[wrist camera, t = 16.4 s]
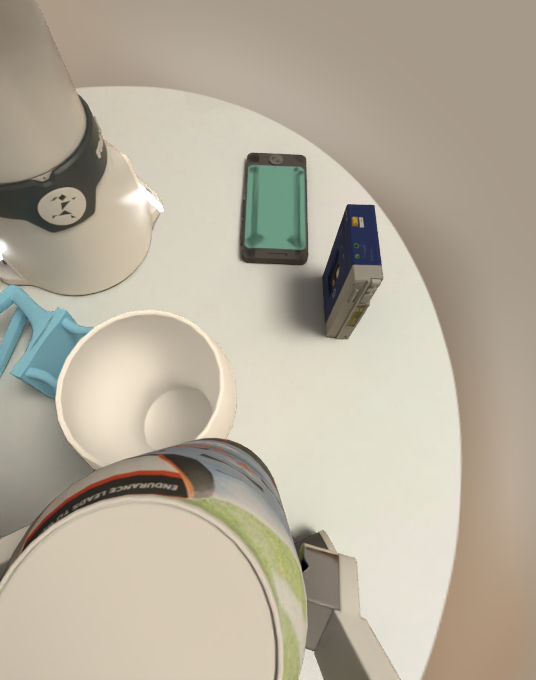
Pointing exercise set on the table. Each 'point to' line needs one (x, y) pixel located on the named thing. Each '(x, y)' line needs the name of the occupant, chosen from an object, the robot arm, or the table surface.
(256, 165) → the smartphone
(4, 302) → the chair
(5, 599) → the beverage can
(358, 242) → the blue rectangular block
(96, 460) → the cup
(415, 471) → the table surface
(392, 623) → the table surface
